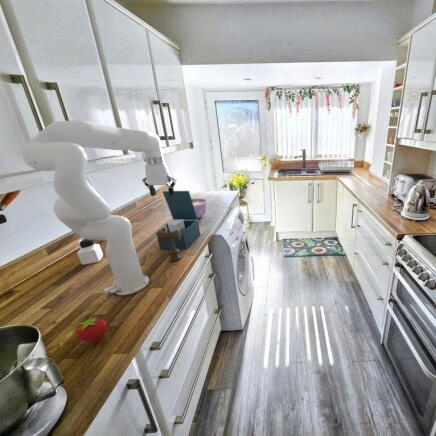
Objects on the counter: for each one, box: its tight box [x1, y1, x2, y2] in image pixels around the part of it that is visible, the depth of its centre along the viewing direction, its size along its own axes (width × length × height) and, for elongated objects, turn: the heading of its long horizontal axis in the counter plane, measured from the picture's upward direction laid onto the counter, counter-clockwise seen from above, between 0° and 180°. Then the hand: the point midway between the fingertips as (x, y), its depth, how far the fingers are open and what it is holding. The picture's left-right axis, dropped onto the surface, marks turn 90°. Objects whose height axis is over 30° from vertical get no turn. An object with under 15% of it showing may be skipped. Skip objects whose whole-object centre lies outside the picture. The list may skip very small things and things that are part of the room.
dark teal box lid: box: [162, 190, 199, 220], centre depth 140 cm, size 19×15×5 cm
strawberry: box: [75, 316, 108, 344], centre depth 73 cm, size 6×8×10 cm
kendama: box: [156, 222, 182, 262], centre depth 116 cm, size 6×10×20 cm, turn 94°
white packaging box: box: [163, 219, 185, 232], centre depth 133 cm, size 7×7×13 cm
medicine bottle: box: [76, 238, 104, 266], centre depth 120 cm, size 7×7×12 cm
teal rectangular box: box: [155, 219, 201, 250], centre depth 137 cm, size 18×15×10 cm
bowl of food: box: [191, 197, 208, 219], centre depth 174 cm, size 20×20×12 cm
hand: (162, 195), depth 121 cm, fingers open, 9 cm apart
